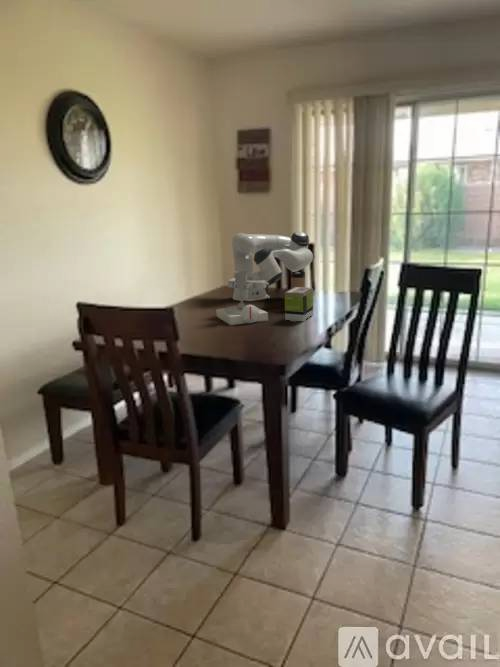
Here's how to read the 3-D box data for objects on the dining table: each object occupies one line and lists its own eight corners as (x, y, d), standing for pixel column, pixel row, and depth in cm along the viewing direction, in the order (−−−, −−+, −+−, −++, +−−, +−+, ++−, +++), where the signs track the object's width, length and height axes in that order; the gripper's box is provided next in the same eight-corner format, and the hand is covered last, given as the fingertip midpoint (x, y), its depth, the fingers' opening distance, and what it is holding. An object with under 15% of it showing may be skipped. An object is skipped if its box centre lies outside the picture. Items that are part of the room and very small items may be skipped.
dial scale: (252, 312, 266) (251, 295, 264) (269, 321, 247) (269, 303, 245) (216, 316, 259) (216, 299, 256) (231, 325, 240) (231, 307, 237)
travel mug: (306, 307, 276) (306, 271, 270) (303, 310, 269) (303, 273, 264) (292, 306, 278) (292, 271, 273) (289, 309, 271) (289, 273, 266)
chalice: (235, 306, 256) (233, 271, 251) (248, 305, 256) (247, 270, 251) (235, 309, 249) (233, 273, 244) (248, 308, 249) (247, 272, 244)
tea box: (295, 314, 261) (295, 286, 257) (313, 315, 256) (314, 287, 252) (284, 320, 248) (284, 291, 244) (303, 322, 243) (303, 292, 239)
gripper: (270, 289, 257) (259, 294, 245) (235, 287, 266) (222, 291, 254) (270, 277, 255) (259, 281, 243) (235, 275, 264) (222, 279, 252)
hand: (240, 286), depth 249 cm, fingers closed on chalice, 5 cm apart
